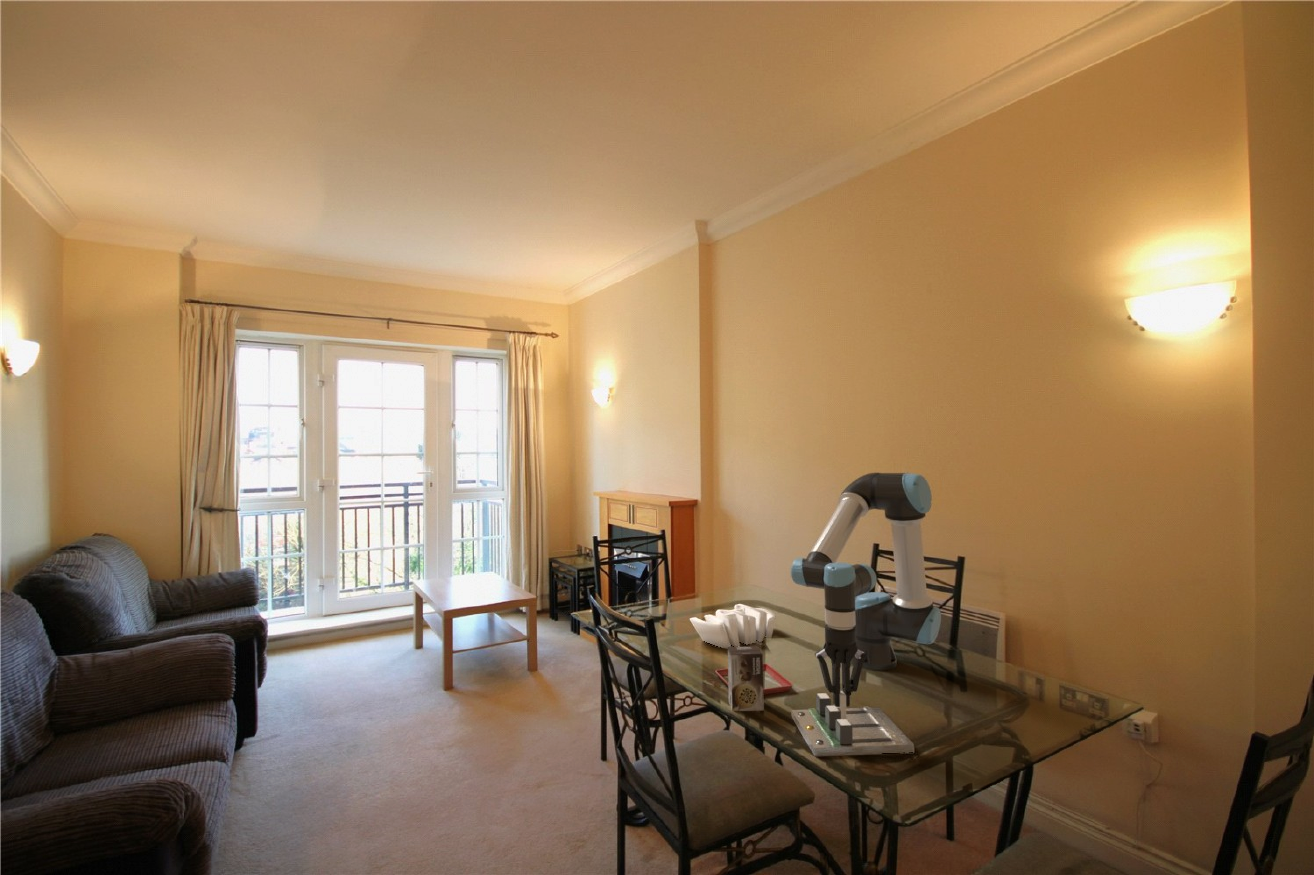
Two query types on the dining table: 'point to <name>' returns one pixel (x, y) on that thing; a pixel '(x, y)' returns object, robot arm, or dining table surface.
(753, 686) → the coffee box
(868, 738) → the slider switch panel
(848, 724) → the block
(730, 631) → the wavy white extrusion
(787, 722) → the dining table surface
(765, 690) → the plant saucer
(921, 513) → the robot arm
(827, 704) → the breaker
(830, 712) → the block
